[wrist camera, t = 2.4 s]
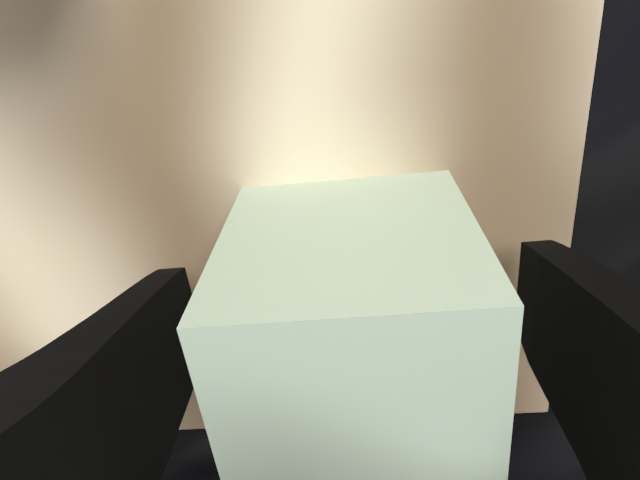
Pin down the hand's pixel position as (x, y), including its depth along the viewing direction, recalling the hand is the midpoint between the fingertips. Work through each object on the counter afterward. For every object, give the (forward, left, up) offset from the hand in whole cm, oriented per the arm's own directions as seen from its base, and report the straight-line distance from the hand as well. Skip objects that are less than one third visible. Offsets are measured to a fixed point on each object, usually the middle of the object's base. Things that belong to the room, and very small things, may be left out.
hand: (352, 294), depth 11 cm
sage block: (0, 0, -1) cm, 1 cm away
